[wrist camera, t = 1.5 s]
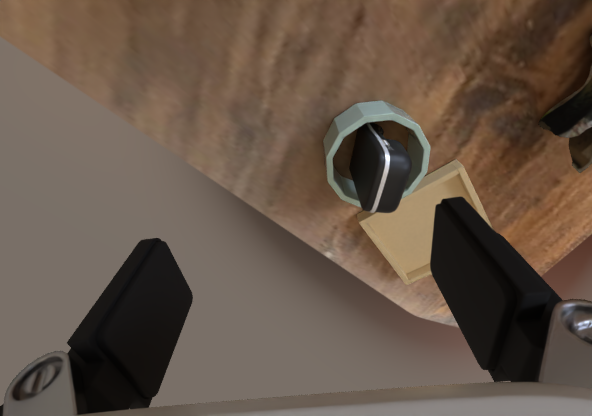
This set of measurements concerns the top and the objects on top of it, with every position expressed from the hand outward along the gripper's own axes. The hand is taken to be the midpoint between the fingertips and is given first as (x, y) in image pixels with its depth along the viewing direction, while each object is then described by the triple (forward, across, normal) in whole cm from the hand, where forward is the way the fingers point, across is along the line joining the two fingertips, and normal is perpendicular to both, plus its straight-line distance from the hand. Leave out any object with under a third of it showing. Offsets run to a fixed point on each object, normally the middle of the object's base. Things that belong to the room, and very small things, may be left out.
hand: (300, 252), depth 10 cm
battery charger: (+29, -8, +8) cm, 31 cm away
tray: (+29, -16, +22) cm, 39 cm away
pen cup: (+29, -8, +8) cm, 31 cm away
